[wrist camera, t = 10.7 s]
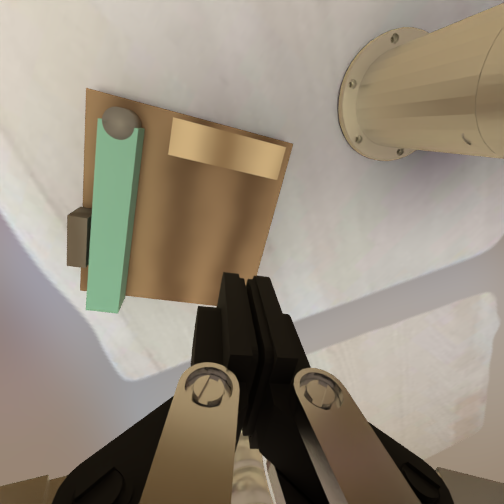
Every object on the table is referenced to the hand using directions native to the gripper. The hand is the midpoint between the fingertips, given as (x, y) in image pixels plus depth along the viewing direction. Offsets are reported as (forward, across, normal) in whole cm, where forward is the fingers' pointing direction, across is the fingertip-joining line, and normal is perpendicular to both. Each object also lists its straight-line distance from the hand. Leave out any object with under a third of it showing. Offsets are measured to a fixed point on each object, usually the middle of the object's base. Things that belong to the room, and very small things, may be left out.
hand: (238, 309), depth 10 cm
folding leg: (+20, +10, +4) cm, 23 cm away
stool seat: (+24, +4, +4) cm, 24 cm away
